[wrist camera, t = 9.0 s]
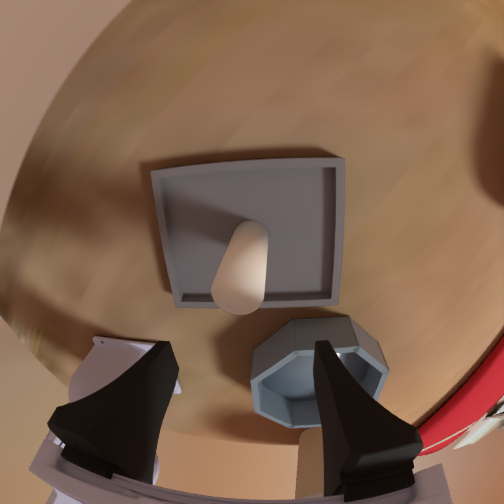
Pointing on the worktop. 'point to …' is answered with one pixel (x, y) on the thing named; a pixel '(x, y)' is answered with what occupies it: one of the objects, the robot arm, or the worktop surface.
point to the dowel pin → (242, 270)
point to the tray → (263, 211)
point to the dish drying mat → (466, 404)
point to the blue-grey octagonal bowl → (310, 367)
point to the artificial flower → (502, 423)
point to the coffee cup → (310, 465)
